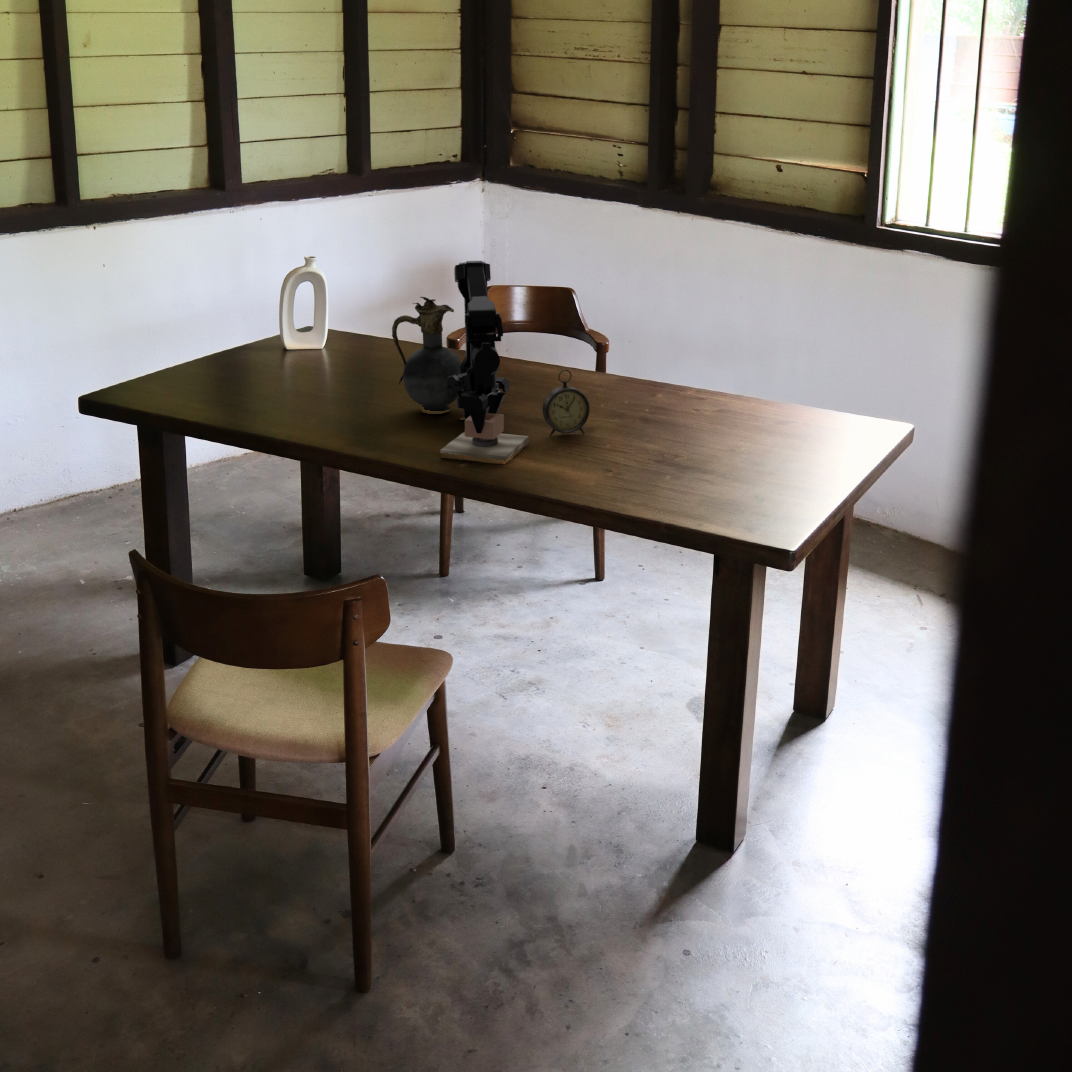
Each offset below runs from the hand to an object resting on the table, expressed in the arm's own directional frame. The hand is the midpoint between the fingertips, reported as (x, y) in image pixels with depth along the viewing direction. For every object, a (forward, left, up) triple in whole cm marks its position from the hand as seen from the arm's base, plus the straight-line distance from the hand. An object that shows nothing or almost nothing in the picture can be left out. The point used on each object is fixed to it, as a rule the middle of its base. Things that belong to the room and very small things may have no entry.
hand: (484, 428), depth 275 cm
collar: (0, 0, -1) cm, 1 cm away
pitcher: (-27, -26, -6) cm, 38 cm away
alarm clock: (-18, +14, -6) cm, 24 cm away
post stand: (0, 0, -6) cm, 6 cm away
